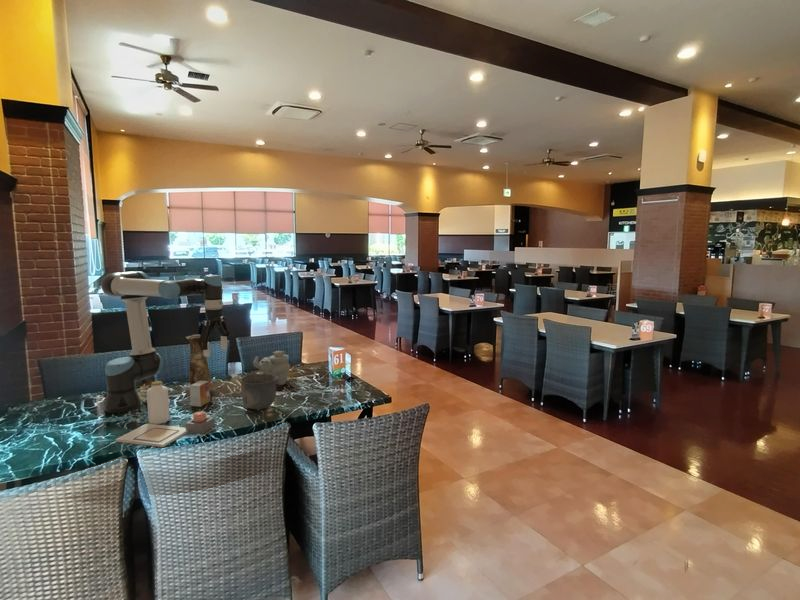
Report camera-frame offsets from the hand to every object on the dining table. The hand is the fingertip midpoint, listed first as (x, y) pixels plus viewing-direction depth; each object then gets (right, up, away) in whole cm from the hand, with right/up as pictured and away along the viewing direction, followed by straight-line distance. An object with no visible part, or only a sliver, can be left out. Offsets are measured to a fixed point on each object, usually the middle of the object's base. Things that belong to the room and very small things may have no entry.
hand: (215, 353), depth 212 cm
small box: (-11, -26, +10) cm, 30 cm away
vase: (-20, -24, +29) cm, 43 cm away
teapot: (+15, -22, +43) cm, 50 cm away
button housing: (+2, -30, -21) cm, 37 cm away
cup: (+20, -27, +4) cm, 34 cm away
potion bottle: (-20, -29, -13) cm, 37 cm away
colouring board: (-14, -31, -27) cm, 43 cm away
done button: (+2, -27, -21) cm, 34 cm away
